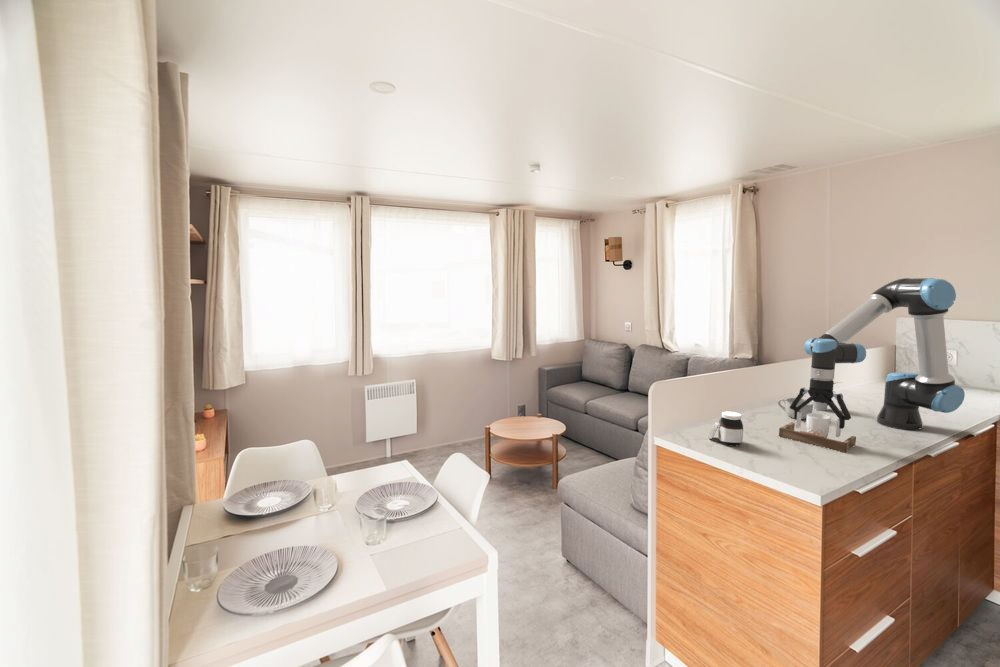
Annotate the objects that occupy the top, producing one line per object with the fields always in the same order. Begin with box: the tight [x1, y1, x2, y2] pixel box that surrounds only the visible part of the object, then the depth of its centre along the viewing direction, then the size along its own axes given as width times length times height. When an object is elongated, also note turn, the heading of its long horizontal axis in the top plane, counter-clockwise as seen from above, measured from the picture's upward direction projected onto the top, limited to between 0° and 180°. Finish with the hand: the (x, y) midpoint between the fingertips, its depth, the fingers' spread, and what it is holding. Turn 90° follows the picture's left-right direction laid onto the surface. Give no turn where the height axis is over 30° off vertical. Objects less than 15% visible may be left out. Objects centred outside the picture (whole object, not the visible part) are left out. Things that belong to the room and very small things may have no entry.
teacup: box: [777, 397, 814, 420], centre depth 216 cm, size 14×11×8 cm
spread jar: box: [707, 410, 744, 447], centre depth 183 cm, size 12×11×12 cm
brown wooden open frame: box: [778, 421, 857, 454], centre depth 185 cm, size 12×22×4 cm, turn 38°
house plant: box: [812, 378, 842, 412], centre depth 227 cm, size 14×14×16 cm
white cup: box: [805, 412, 831, 438], centre depth 185 cm, size 8×8×10 cm
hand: (817, 431), depth 185 cm, fingers open, 13 cm apart
